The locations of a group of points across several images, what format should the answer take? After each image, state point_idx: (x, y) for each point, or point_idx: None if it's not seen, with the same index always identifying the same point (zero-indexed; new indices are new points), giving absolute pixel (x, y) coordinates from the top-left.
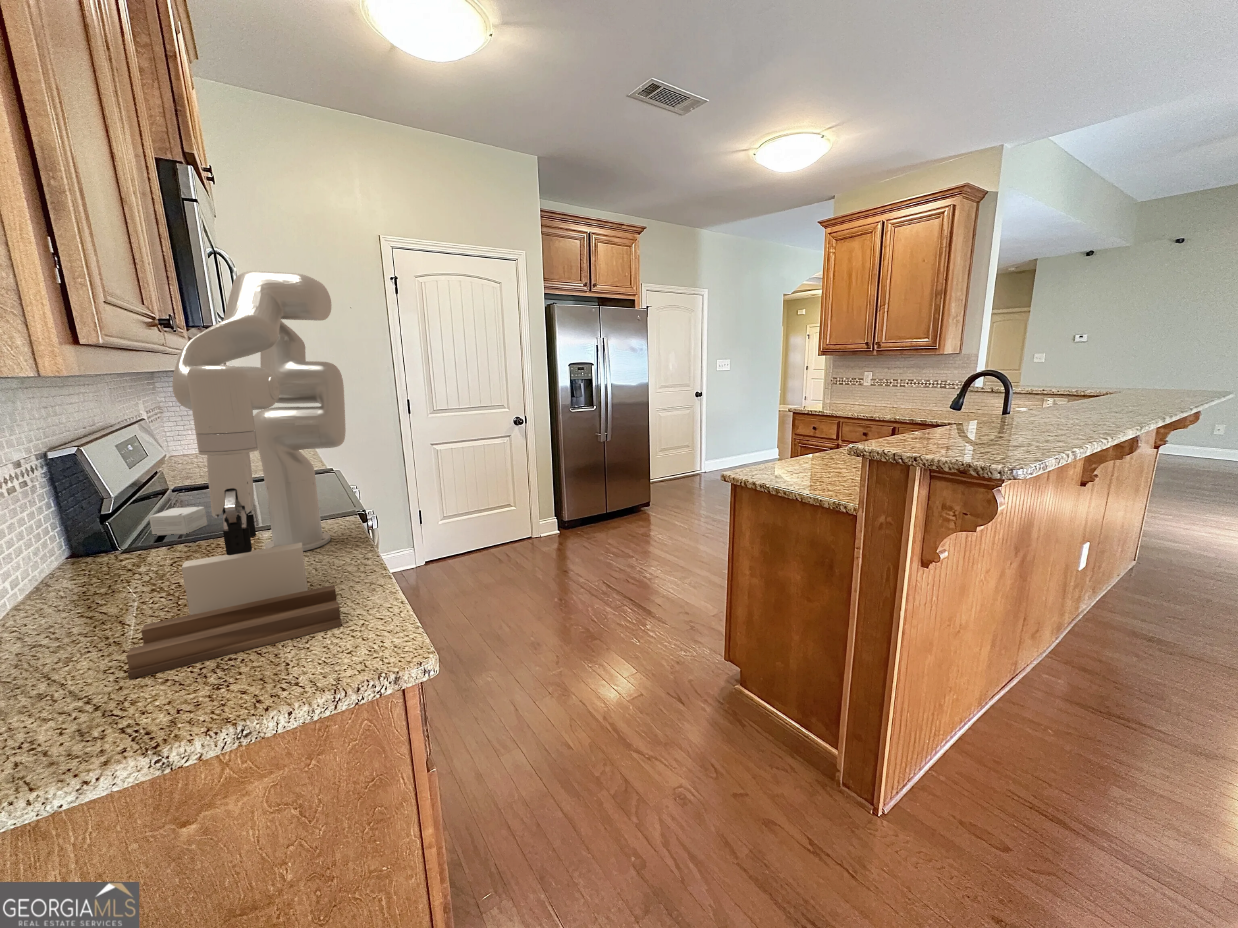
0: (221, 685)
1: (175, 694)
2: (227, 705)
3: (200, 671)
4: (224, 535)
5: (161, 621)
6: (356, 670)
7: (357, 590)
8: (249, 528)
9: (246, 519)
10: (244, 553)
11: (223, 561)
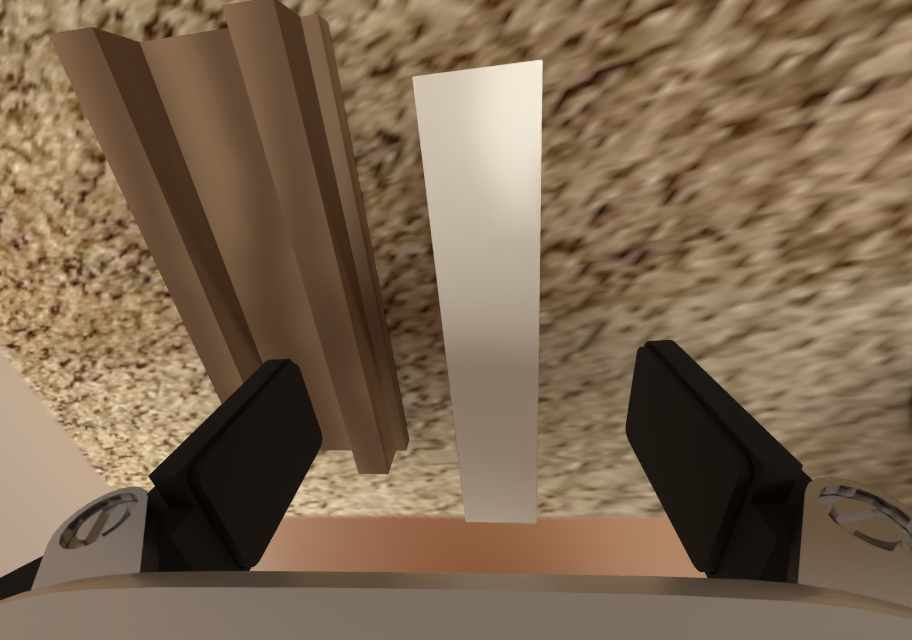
0: (76, 271)
1: (47, 194)
2: (17, 291)
3: (130, 221)
4: (185, 447)
5: (281, 61)
6: (111, 446)
7: (440, 474)
8: (652, 461)
9: (693, 522)
10: (507, 357)
11: (439, 281)
